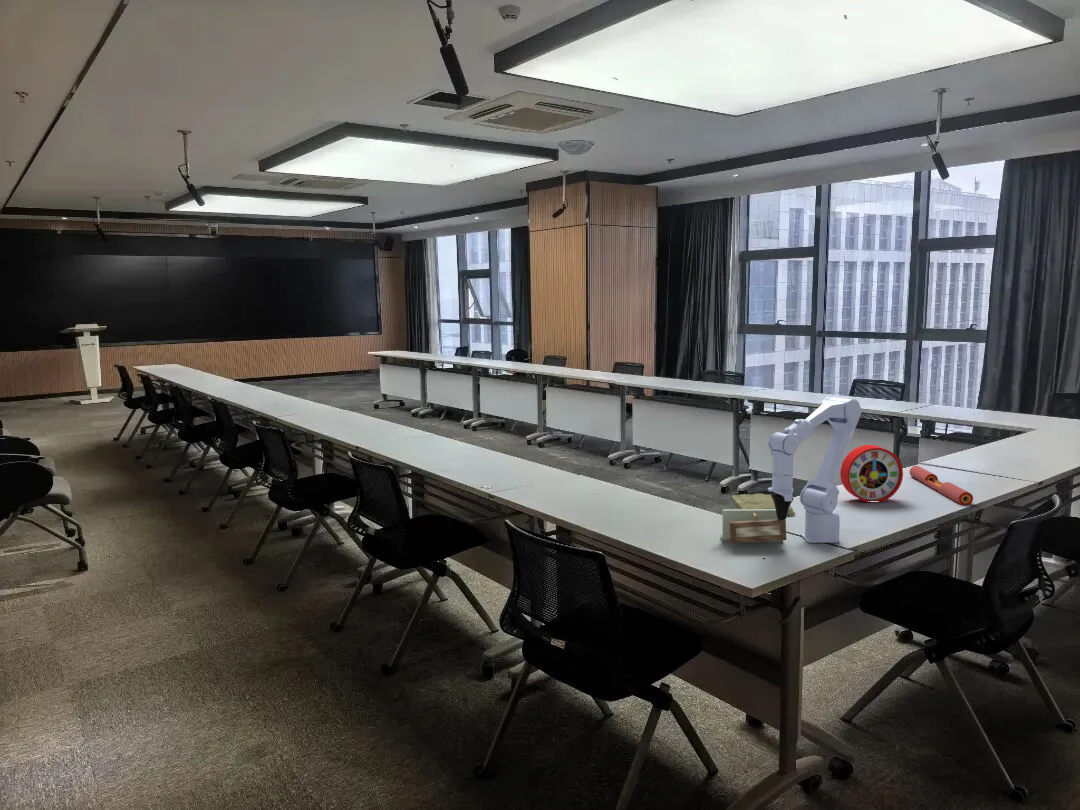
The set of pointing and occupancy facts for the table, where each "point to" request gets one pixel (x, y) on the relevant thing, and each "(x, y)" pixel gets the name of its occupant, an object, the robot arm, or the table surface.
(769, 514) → the curved green slab
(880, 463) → the toy clock
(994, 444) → the table surface
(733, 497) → the decorative tile
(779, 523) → the picture frame
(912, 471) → the blood vessel
